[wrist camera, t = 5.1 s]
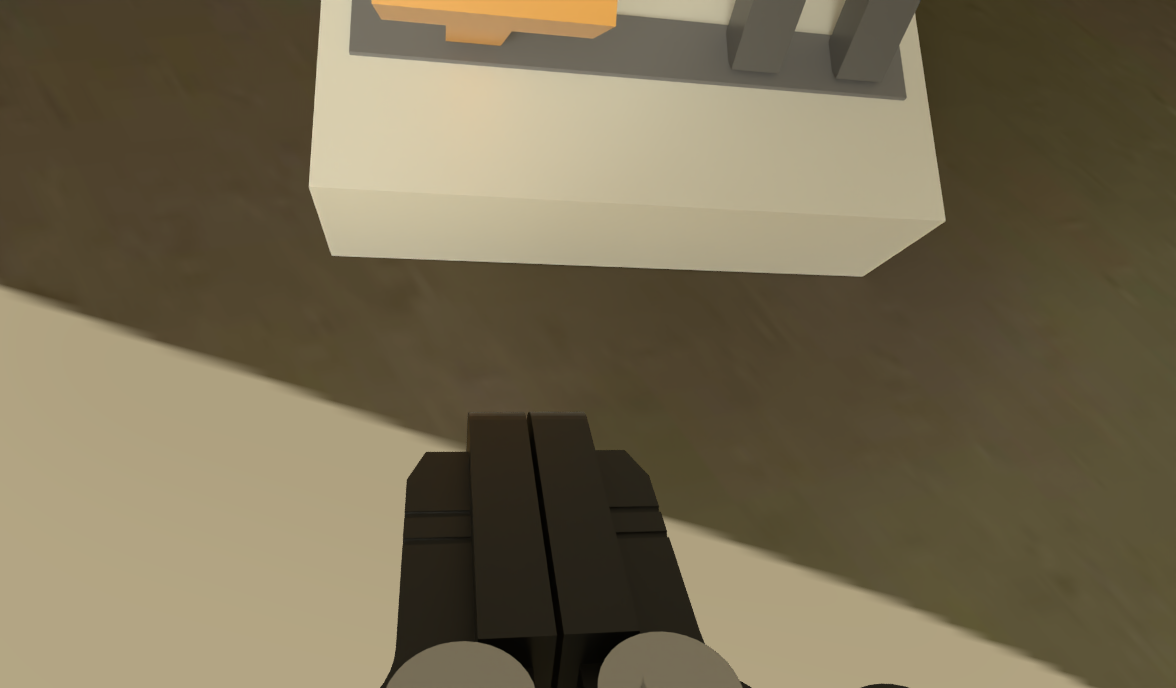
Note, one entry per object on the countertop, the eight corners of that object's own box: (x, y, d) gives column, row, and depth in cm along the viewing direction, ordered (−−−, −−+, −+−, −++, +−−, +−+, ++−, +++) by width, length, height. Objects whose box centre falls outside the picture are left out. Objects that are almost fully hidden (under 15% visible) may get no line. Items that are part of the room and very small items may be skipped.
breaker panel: (834, 34, 38) (1001, -187, 27) (862, 276, 35) (1065, 141, 24) (347, -13, 34) (304, -296, 23) (331, 255, 31) (273, 81, 20)
